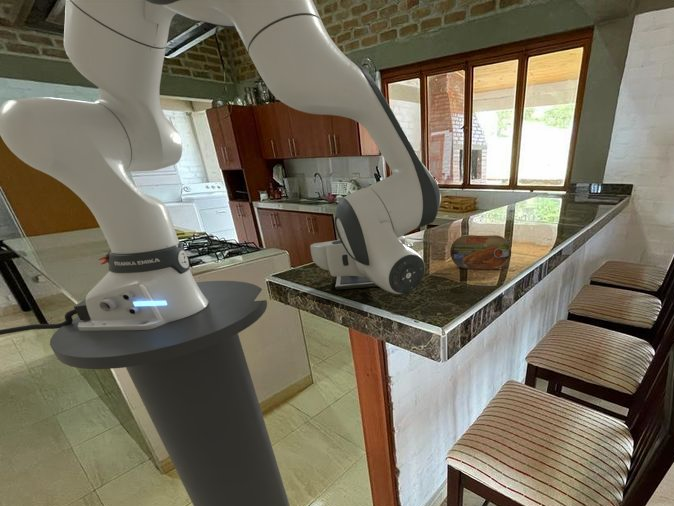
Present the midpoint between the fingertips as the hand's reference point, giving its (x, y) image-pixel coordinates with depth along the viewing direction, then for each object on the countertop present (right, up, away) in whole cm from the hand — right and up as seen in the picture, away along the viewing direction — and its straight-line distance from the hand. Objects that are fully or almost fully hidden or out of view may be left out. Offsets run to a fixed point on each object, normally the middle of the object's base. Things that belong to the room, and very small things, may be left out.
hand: (348, 241), depth 78 cm
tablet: (+6, -8, +4) cm, 10 cm away
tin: (+32, -5, +8) cm, 34 cm away
